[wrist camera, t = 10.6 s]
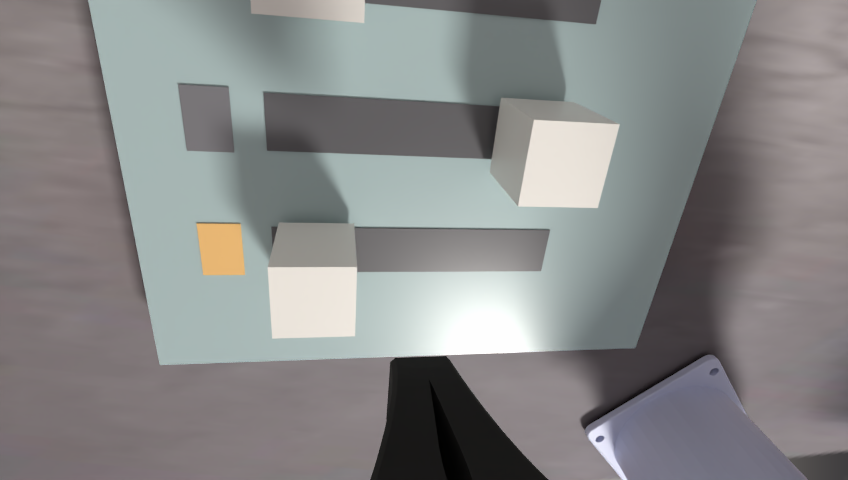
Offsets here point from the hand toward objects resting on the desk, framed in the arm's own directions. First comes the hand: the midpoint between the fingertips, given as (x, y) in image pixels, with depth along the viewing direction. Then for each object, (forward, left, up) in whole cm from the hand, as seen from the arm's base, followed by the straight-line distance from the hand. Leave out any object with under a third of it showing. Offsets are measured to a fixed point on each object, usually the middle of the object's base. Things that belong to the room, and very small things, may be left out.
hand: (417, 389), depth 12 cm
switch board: (+1, -3, -9) cm, 10 cm away
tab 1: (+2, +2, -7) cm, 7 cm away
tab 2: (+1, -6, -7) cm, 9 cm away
